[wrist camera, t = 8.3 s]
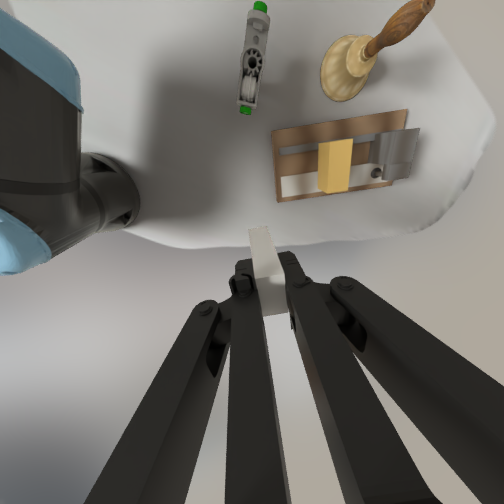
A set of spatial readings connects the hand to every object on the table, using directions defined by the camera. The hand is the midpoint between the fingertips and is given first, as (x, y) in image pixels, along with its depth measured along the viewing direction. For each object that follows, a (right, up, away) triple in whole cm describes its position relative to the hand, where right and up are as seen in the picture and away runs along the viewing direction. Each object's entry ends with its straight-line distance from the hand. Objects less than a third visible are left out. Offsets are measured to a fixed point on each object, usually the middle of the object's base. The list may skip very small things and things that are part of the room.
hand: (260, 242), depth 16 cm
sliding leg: (+14, +16, +21) cm, 29 cm away
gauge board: (+16, +18, +22) cm, 33 cm away
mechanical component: (-1, +28, +17) cm, 32 cm away
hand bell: (+15, +30, +16) cm, 37 cm away
